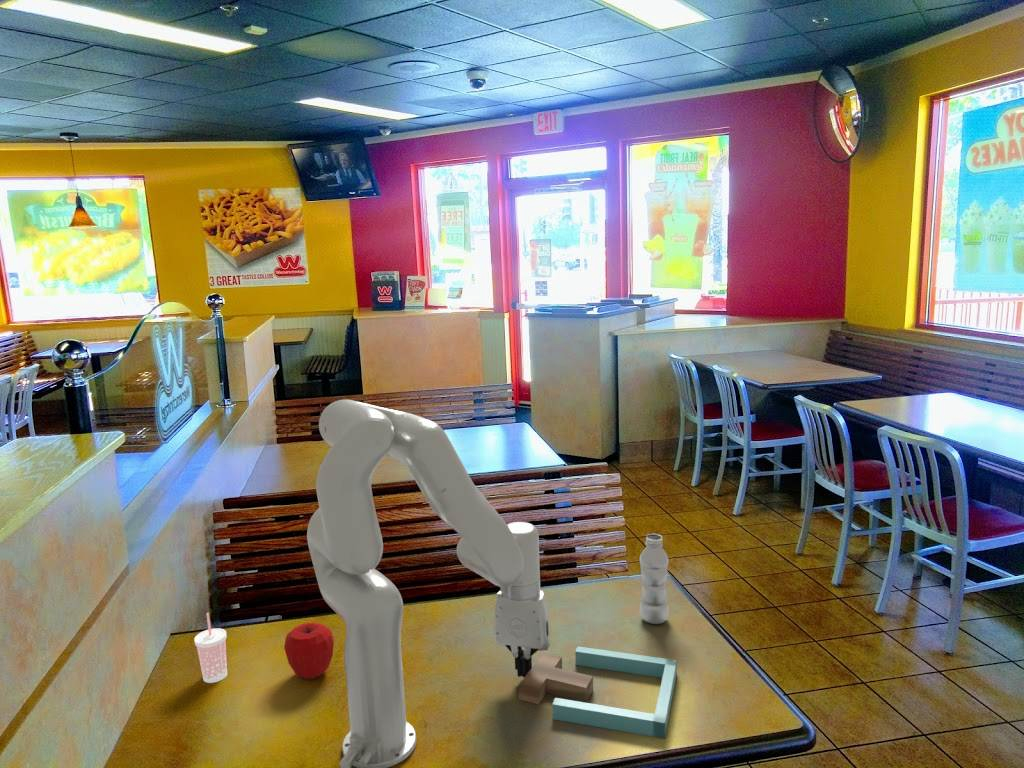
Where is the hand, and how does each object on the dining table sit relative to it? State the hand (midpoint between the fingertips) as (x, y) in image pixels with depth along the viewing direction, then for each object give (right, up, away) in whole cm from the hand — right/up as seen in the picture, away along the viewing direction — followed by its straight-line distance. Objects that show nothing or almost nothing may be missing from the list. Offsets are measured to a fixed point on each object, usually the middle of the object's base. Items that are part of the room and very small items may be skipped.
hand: (523, 673), depth 145 cm
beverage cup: (-63, -3, +5) cm, 63 cm away
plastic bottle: (+30, +3, +22) cm, 37 cm away
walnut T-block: (+7, -2, -3) cm, 8 cm away
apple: (-43, -2, +5) cm, 43 cm away
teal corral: (+17, -2, -5) cm, 18 cm away
